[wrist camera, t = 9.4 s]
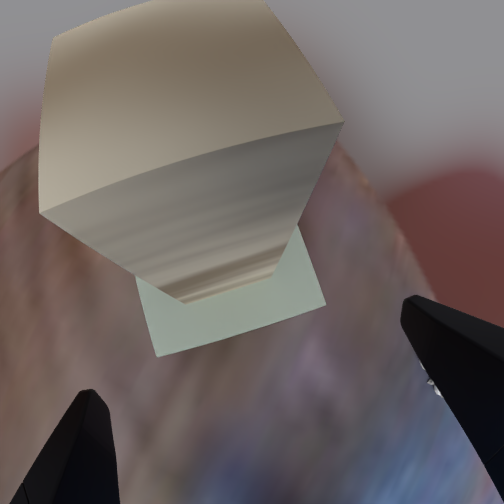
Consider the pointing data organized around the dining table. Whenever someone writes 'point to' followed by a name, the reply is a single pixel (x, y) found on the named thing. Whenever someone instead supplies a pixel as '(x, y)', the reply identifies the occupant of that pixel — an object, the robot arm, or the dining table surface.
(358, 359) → the dining table surface
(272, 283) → the sage base block
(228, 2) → the birch pillar
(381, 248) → the dining table surface
